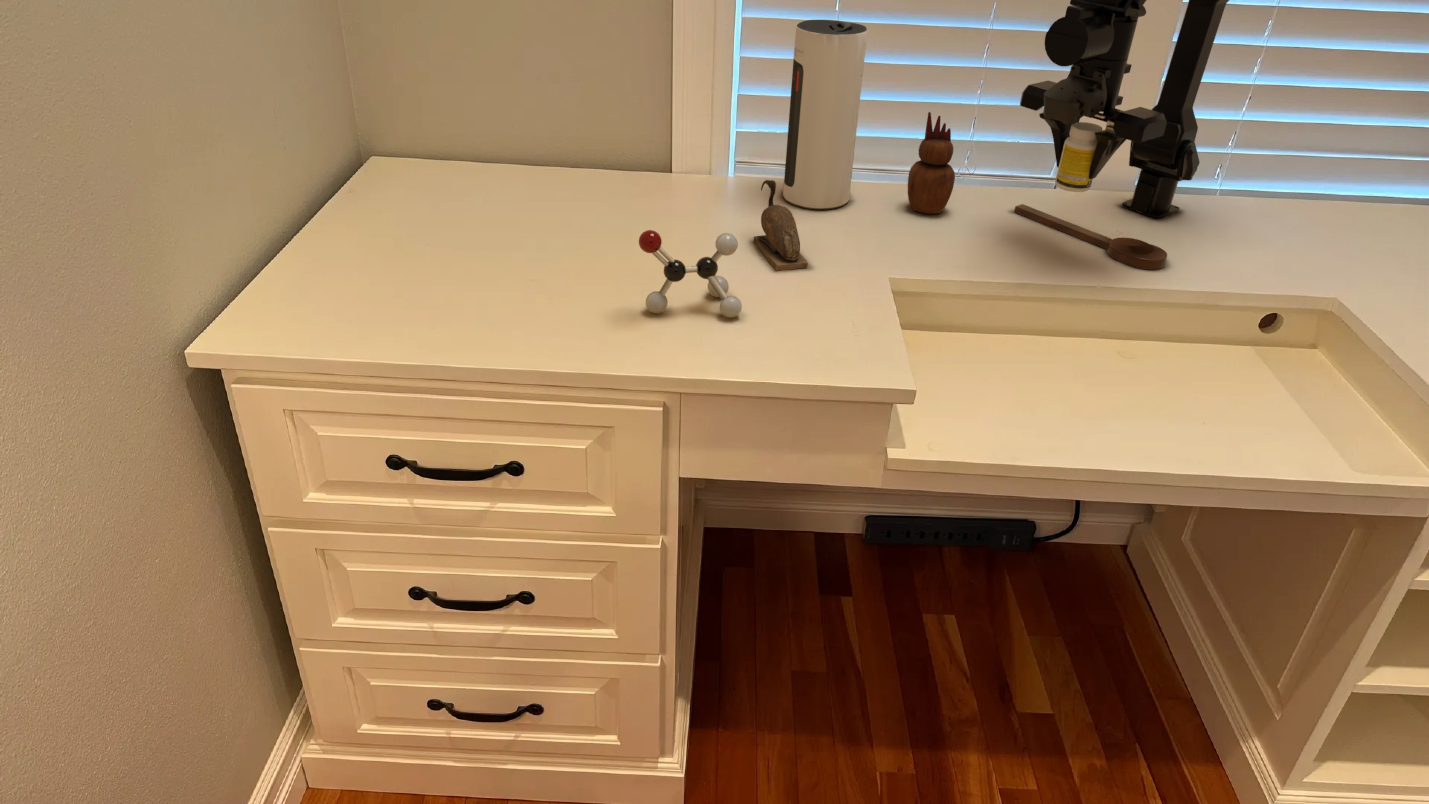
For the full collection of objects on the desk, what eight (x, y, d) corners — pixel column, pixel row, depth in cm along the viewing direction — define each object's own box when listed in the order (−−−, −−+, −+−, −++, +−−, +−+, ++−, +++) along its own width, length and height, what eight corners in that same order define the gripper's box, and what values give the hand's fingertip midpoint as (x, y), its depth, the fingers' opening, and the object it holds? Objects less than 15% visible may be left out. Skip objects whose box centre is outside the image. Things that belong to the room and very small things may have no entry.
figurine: (743, 229, 142) (747, 171, 137) (772, 227, 143) (777, 169, 138) (776, 271, 131) (781, 209, 126) (808, 268, 132) (814, 206, 127)
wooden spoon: (1005, 215, 151) (1007, 205, 150) (1029, 207, 154) (1031, 198, 153) (1149, 273, 135) (1152, 263, 134) (1172, 263, 138) (1176, 253, 137)
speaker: (785, 183, 159) (799, 12, 144) (850, 188, 158) (870, 17, 143) (780, 207, 150) (793, 28, 136) (848, 213, 149) (869, 33, 135)
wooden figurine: (900, 212, 150) (914, 114, 142) (908, 200, 154) (923, 104, 146) (944, 220, 148) (962, 121, 140) (951, 207, 152) (969, 110, 144)
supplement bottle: (1091, 194, 133) (1107, 133, 129) (1056, 190, 134) (1070, 129, 129) (1088, 182, 137) (1103, 122, 133) (1053, 178, 138) (1067, 119, 133)
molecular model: (744, 320, 119) (749, 238, 113) (646, 330, 116) (646, 246, 110) (724, 290, 125) (728, 211, 120) (632, 299, 123) (631, 218, 117)
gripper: (1006, 46, 128) (983, 163, 136) (1133, 81, 116) (1100, 206, 124) (1058, 37, 134) (1033, 149, 142) (1184, 68, 122) (1149, 189, 130)
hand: (1075, 172), depth 135 cm, fingers closed on supplement bottle, 5 cm apart
